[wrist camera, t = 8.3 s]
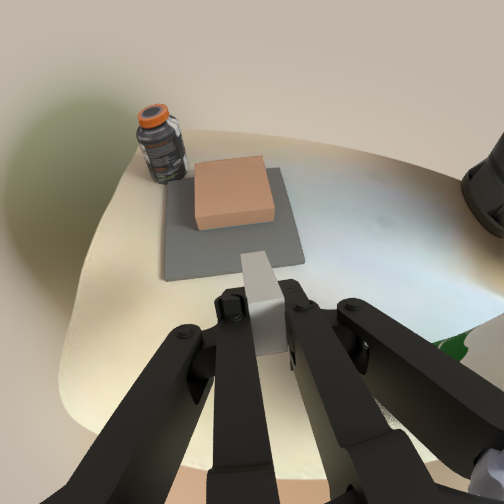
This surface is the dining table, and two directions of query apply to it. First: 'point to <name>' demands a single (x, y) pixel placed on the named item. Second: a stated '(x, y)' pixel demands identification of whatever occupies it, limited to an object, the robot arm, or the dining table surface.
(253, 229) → the mat
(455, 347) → the milk carton
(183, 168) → the pill bottle
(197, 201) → the tile
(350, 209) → the dining table surface
